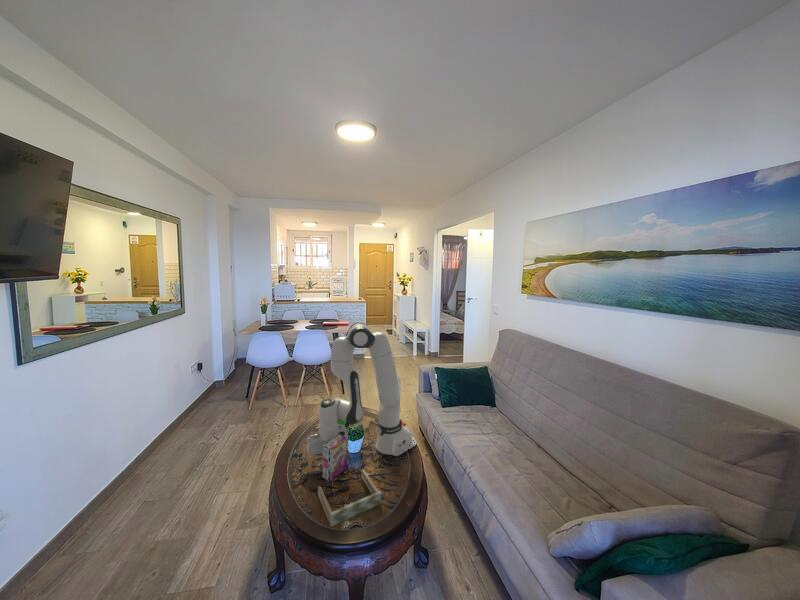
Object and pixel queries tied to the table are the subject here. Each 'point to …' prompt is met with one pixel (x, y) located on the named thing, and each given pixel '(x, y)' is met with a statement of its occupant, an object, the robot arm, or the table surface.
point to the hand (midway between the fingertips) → (328, 457)
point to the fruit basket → (341, 422)
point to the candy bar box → (334, 457)
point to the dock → (354, 507)
